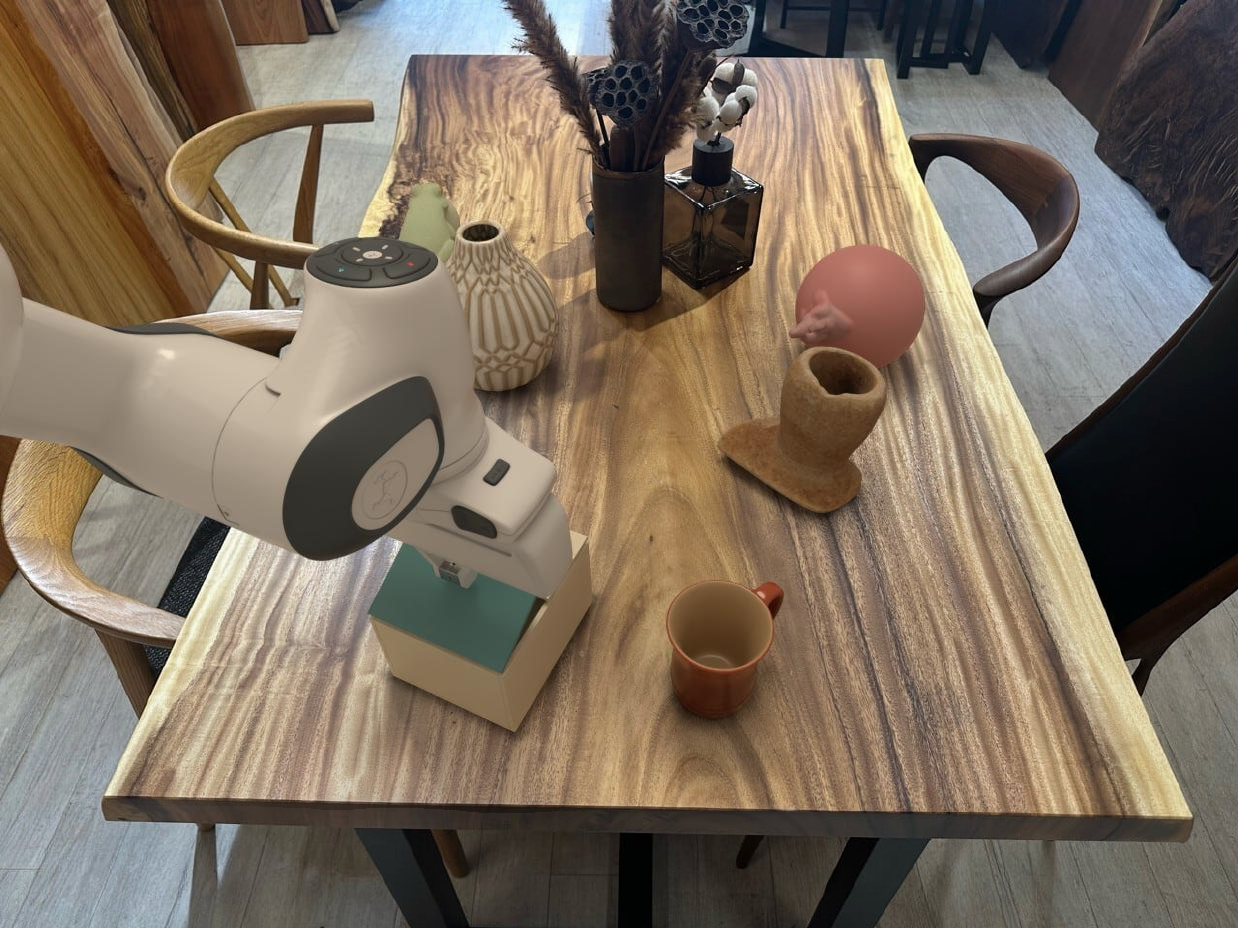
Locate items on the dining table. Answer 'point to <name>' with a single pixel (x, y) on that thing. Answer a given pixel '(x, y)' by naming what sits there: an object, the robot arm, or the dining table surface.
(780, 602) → the mug
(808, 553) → the dining table surface
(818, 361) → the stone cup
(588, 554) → the carton
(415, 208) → the figurine
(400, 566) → the flap
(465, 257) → the vase
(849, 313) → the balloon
